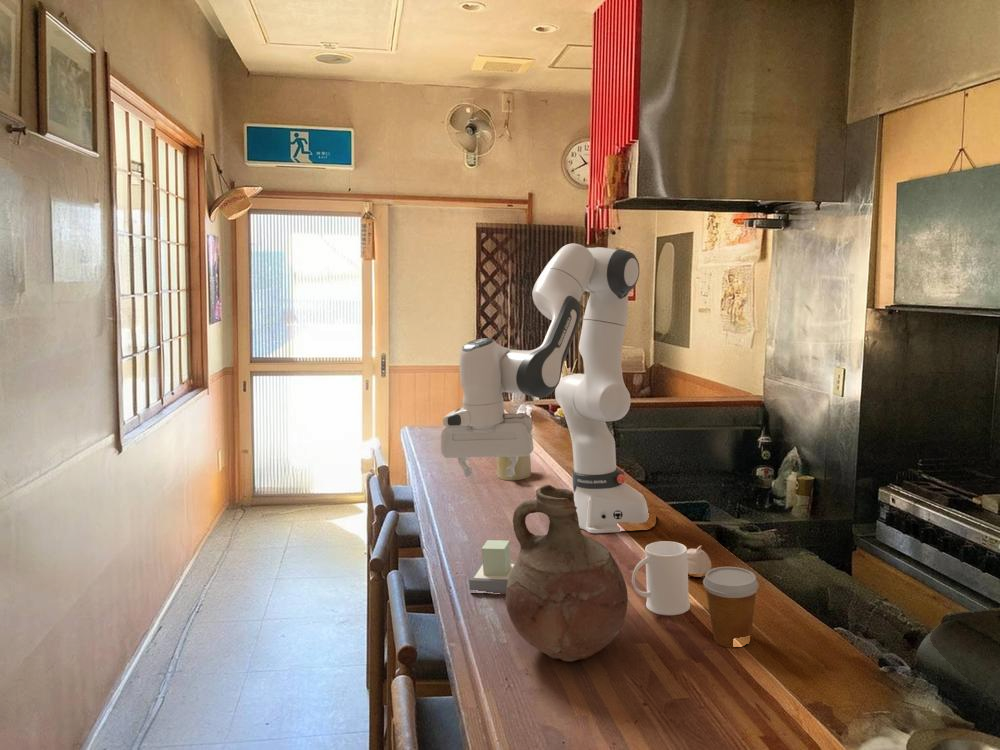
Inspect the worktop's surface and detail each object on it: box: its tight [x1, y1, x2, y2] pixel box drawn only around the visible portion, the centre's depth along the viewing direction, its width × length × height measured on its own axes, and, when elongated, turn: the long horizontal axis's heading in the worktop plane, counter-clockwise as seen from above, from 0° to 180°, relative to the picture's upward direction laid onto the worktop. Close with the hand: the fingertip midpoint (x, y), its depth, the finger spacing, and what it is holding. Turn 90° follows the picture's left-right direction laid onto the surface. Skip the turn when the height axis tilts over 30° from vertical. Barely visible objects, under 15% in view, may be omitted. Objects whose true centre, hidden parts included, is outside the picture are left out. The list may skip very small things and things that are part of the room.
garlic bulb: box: [687, 545, 712, 575], centre depth 168 cm, size 7×6×8 cm
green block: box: [481, 539, 512, 576], centre depth 170 cm, size 5×5×6 cm
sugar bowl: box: [495, 454, 532, 481], centre depth 254 cm, size 15×11×15 cm
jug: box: [505, 484, 629, 662], centre depth 138 cm, size 22×22×30 cm
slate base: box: [468, 561, 515, 594], centre depth 171 cm, size 10×10×3 cm
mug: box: [631, 540, 691, 616], centre depth 154 cm, size 12×8×12 cm
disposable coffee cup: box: [702, 566, 760, 649], centre depth 139 cm, size 10×10×12 cm
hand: (489, 475), depth 172 cm, fingers open, 8 cm apart
